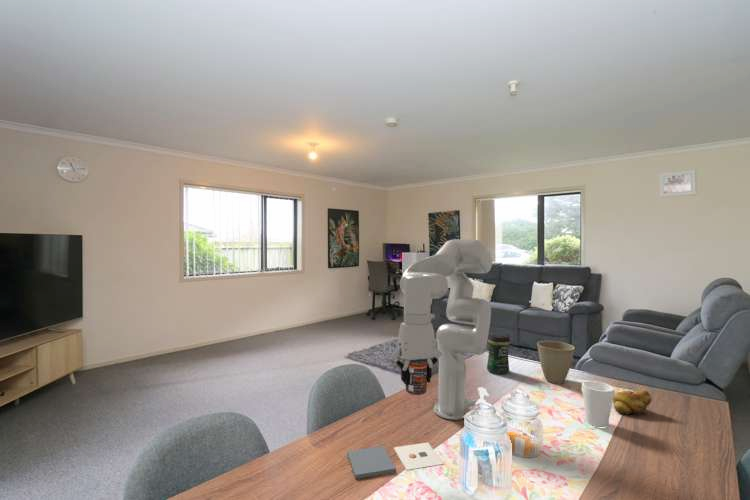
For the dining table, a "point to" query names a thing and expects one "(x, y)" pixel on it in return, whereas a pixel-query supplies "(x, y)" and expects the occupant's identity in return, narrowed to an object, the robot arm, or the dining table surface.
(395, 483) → the dining table surface
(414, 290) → the robot arm
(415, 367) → the supplement bottle
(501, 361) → the coffee jar
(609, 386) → the foam cup
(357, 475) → the place mat
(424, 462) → the tile
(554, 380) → the plant pot
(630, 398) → the bread roll
